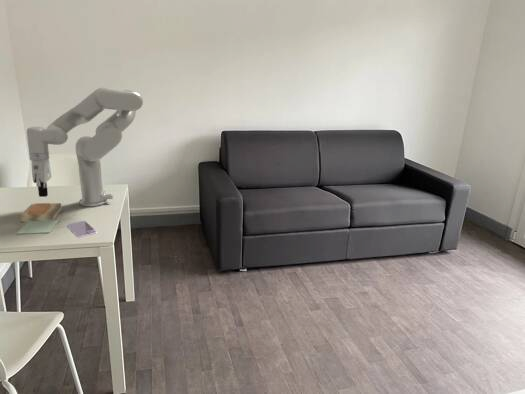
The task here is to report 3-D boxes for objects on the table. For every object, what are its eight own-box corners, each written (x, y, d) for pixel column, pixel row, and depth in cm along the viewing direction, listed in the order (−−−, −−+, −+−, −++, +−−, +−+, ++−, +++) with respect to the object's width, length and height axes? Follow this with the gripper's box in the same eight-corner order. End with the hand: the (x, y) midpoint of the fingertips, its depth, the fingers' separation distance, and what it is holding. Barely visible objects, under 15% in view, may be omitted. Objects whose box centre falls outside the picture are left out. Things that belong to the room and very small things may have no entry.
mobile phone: (85, 219, 172) (97, 231, 161) (85, 222, 172) (98, 233, 162) (66, 223, 167) (78, 236, 157) (66, 226, 168) (78, 238, 157)
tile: (50, 207, 178) (49, 203, 178) (43, 214, 170) (43, 210, 169) (35, 207, 177) (35, 203, 176) (28, 214, 169) (27, 210, 168)
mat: (59, 221, 171) (59, 220, 171) (49, 233, 160) (49, 232, 160) (28, 221, 169) (28, 221, 169) (16, 234, 158) (16, 233, 158)
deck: (61, 209, 184) (60, 203, 183) (52, 221, 171) (51, 214, 170) (33, 210, 182) (32, 203, 181) (21, 222, 169) (19, 215, 168)
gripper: (42, 160, 169) (47, 201, 174) (53, 152, 183) (57, 191, 188) (23, 159, 167) (28, 201, 173) (35, 152, 181) (40, 191, 187)
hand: (43, 196), depth 181 cm, fingers closed
